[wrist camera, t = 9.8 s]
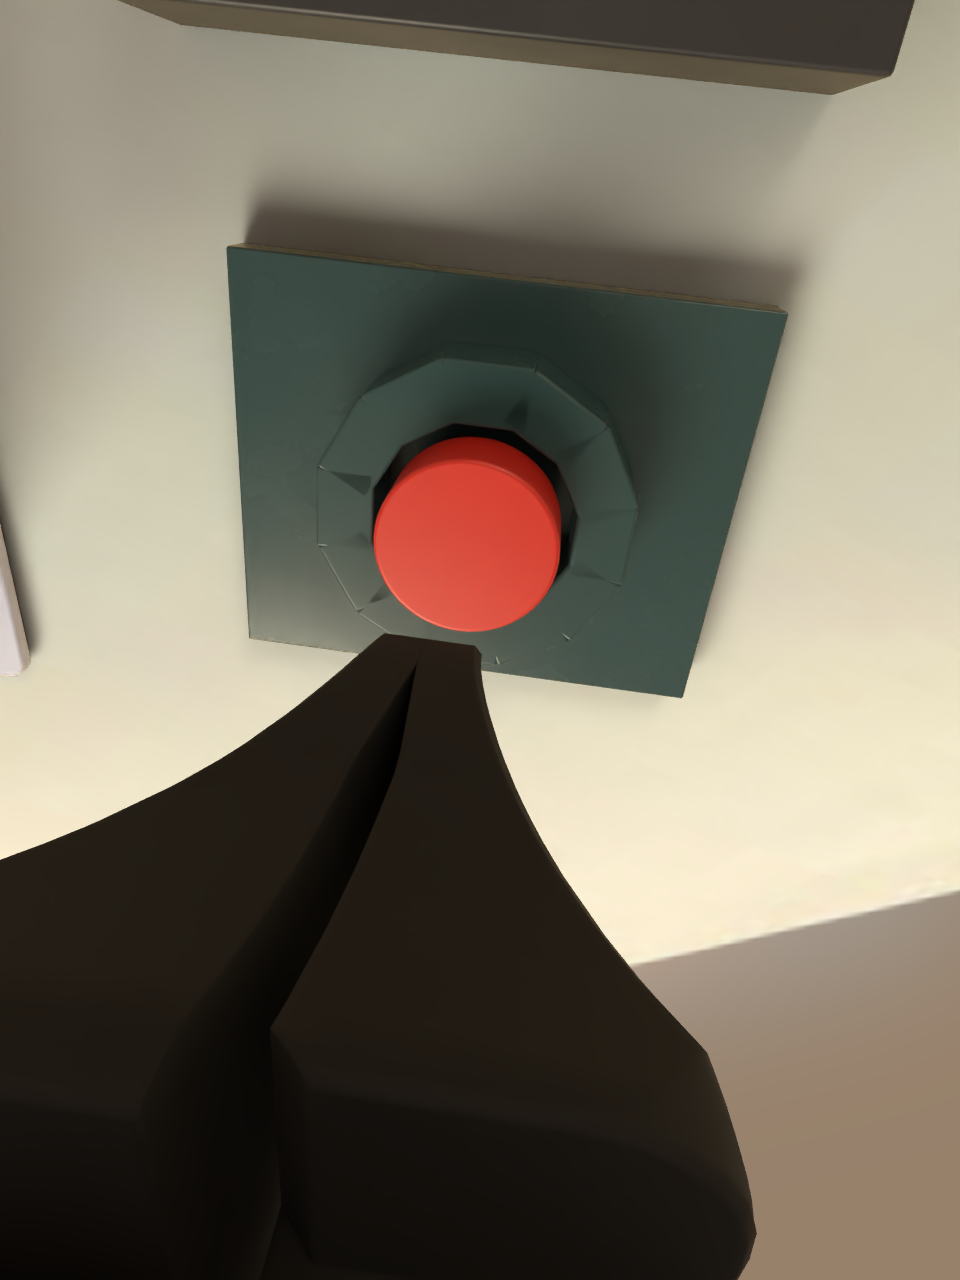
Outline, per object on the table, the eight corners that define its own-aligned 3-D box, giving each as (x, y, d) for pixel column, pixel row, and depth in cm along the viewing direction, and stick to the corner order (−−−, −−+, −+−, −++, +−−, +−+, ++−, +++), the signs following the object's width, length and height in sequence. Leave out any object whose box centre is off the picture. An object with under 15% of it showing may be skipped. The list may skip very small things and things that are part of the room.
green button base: (260, 622, 21) (222, 674, 19) (241, 242, 16) (188, 252, 14) (678, 679, 21) (690, 740, 18) (778, 306, 16) (812, 327, 14)
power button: (385, 587, 18) (370, 620, 16) (392, 424, 16) (375, 447, 14) (548, 608, 17) (546, 644, 16) (574, 447, 16) (574, 472, 14)
